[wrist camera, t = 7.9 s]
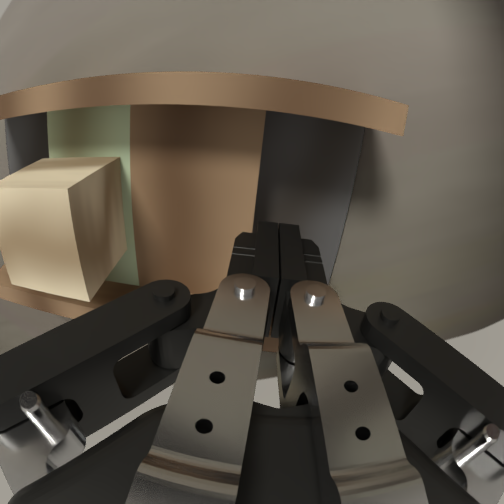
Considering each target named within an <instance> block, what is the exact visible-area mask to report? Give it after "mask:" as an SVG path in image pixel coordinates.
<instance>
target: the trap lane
mask: <svg viewBox="0 0 504 504" xmlns="http://www.w3.org/2000/svg"><path fill="white" fill-rule="evenodd" d="M408 107H409V105H405V104H402V103H399V102H395V101H392V100H388V99H384V98H381V97H377V96H373V95H369V94H365V93H361V92H356V91H352V90H348V89H343V88H338V87H333V86H328V85H323V84H317V83H311V82H305V81H299V80H292V79H285V78H277V77H269V76H259V75H249V74H236V73H219V72H145V73H128V74H116V75H106V76H97V77H89V78H81V79H75V80H68V81H62V82H56V83H51V84H46V85H41V86H36V87H32V88H27V89H23V90H19V91H15V92H11V93H7V94H3V95H0V120H1V119H5V131H6V145H7V156H8V165H9V173H10V175H11V174H13V173H15V172H17V171H19V170H20V169H22V168H24V167H26V166H28V165H30V164H32V163H34V162H36V161H39V160H41V159H44V158H68V157H120V167H121V186H122V200H123V212H124V223H125V233H126V242H127V251H126V252H125V253H124V255H123V256H122V257H121V259H120V260H119V261H118V263H117V264H116V265H115V267H114V268H113V270H112V271H111V272H110V274H109V275H108V277H107V278H106V279H105V281H104V282H103V284H102V285H101V286H100V288H99V289H98V291H97V292H96V294H95V295H94V297H93V298H92V300H91V301H90V302H87V301H82V300H78V299H73V298H68V297H63V296H59V295H54V294H50V293H46V292H41V291H37V290H33V289H29V288H25V287H21V286H17V285H13V284H12V283H11V280H10V278H9V275H8V272H7V269H6V266H5V264H4V265H3V266H2V267H1V268H0V298H2V299H5V300H8V301H11V302H15V303H18V304H21V305H24V306H28V307H31V308H35V309H38V310H42V311H45V312H49V313H53V314H56V315H60V316H64V317H68V318H72V319H75V318H77V317H79V316H81V315H83V314H85V313H87V312H89V311H91V310H94V309H96V308H98V307H100V306H102V305H104V304H106V303H108V302H110V301H112V300H115V299H117V298H119V297H121V296H123V295H125V294H127V293H129V292H132V291H134V290H136V289H138V288H140V287H142V286H144V285H146V284H149V283H151V282H153V281H157V280H165V279H168V280H175V281H178V282H181V283H183V284H184V285H185V286H187V287H188V289H189V291H190V294H200V293H207V292H211V291H214V290H216V289H218V287H219V284H220V282H221V281H222V280H223V279H224V278H225V277H227V272H228V268H229V263H230V259H231V254H232V250H233V246H234V241H235V238H236V237H237V236H238V235H239V234H240V233H242V232H249V233H257V227H258V220H259V221H268V222H277V223H278V225H279V223H286V224H294V225H299V229H300V235H301V238H303V239H311V240H312V241H313V242H314V243H315V244H316V245H317V246H318V247H319V250H320V254H321V259H322V264H323V267H324V271H325V276H326V280H327V284H329V281H330V277H331V273H332V270H333V266H334V263H335V259H336V255H337V252H338V248H339V244H340V240H341V236H342V232H343V228H344V224H345V220H346V216H347V212H348V208H349V203H350V199H351V195H352V190H353V186H354V181H355V177H356V172H357V167H358V162H359V157H360V152H361V147H362V142H363V137H364V131H365V127H367V128H372V129H376V130H380V131H384V132H388V133H392V134H396V135H400V136H403V134H404V129H405V123H406V118H407V112H408ZM278 346H279V338H271V327H270V332H269V337H265V338H264V344H263V349H262V351H268V352H277V350H278Z"/></svg>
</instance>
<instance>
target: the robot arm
mask: <svg viewBox="0 0 504 504" xmlns="http://www.w3.org/2000/svg"><path fill="white" fill-rule="evenodd" d="M270 327H271V338H279V346H278V350H277V354H276V364H277V376H278V387H279V397H280V398H279V399H280V409H278V408H274V407H270V406H267V405H263V404H260V403H257V402H254V401H253V400H254V393H255V387H256V381H257V375H258V369H259V363H260V356H261V351H262V349H263V344H264V338H265V337H269V332H270ZM147 343H148V345H146V346H144V345H145V344H147ZM142 346H144V347H143V348H141V349H139V350H137V349H138V348H140V347H142ZM135 350H137V351H136V352H134V353H132V354H130V353H131V352H133V351H135ZM128 354H130V355H128ZM126 355H128V356H127V357H125V358H123V359H121V358H122V357H124V356H126ZM120 359H121V360H120ZM118 360H120V361H118ZM117 361H118V362H117ZM392 361H393V362H394V363H395V364H397V365H398V366H399V367H401V369H403V370H404V371H405V372H406V373H408V374H409V375H410V376H411V377H412V378H414V379H415V380H416V381H417V382H418V383H420V385H421V386H422V388H423V391H424V394H423V395H419V394H417V393H415V392H414V391H413V390H412V389H410V388H409V387H408V386H407V385H406V384H404V383H403V382H402V381H401V380H399V379H398V378H397V377H396V376H395V375H394V374H392V373H391V372H390V371H389V370H388V367H389V366H390V364H391V362H392ZM173 383H175V384H174V387H173V389H172V392H171V395H170V398H169V400H168V403H167V404H166V405H162V406H159V407H156V408H154V409H151V410H149V411H147V412H145V413H144V414H142V415H140V416H139V417H137V418H136V419H134V420H133V421H132V422H130V423H128V424H127V425H125V426H124V427H122V428H121V429H119V430H118V431H116V432H115V433H113V434H112V435H110V436H109V437H107V438H106V439H104V440H102V441H101V442H99V443H98V444H96V445H95V446H93V447H91V448H90V449H88V450H87V451H85V452H84V453H83V451H84V449H85V445H86V437H87V436H89V435H91V434H92V433H94V432H96V431H97V430H99V429H101V428H103V427H104V426H106V425H108V424H109V423H111V422H113V421H114V420H116V419H118V418H119V417H121V416H123V415H124V414H126V413H128V412H129V411H131V410H133V409H134V408H136V407H137V406H139V405H140V404H142V403H144V402H145V401H147V400H148V399H150V398H151V397H153V396H155V395H156V394H158V393H159V392H161V391H162V390H164V389H166V388H167V387H169V386H170V385H172V384H173ZM0 466H1V469H2V471H3V473H4V475H5V478H6V480H7V482H8V484H9V486H10V488H11V490H12V492H13V494H14V496H13V497H12V498H11V499H10V501H9V502H8V504H497V503H498V502H499V500H500V498H501V496H502V494H503V492H504V387H503V386H502V385H500V384H499V383H498V382H497V381H495V380H494V379H493V378H492V377H490V376H489V375H488V374H487V373H485V372H484V371H483V370H482V369H480V368H479V367H478V366H477V365H475V364H474V363H473V362H471V361H470V360H469V359H468V358H466V357H465V356H464V355H462V354H461V353H460V352H458V351H457V350H456V349H454V348H453V347H452V346H451V345H449V344H448V343H447V342H445V341H444V340H443V339H441V338H440V337H439V336H437V335H436V334H435V333H433V332H432V331H431V330H429V329H428V328H427V327H425V326H424V325H423V324H421V323H420V322H419V321H417V320H416V319H414V318H413V317H412V316H410V315H409V314H408V313H406V312H405V311H404V310H402V309H401V308H399V307H397V306H395V305H393V304H390V303H386V302H376V303H373V304H371V305H370V306H369V307H368V308H367V310H366V313H365V312H362V311H359V310H355V309H352V308H349V307H347V306H345V305H343V304H341V302H340V299H339V296H338V294H337V293H336V291H335V290H334V289H333V288H331V287H330V286H328V284H327V280H326V276H325V271H324V267H323V264H322V259H321V254H320V250H319V247H318V246H317V245H316V244H315V243H314V242H313V241H312V240H311V239H303V238H301V235H300V229H299V225H294V224H286V223H279V225H278V223H277V222H268V221H259V220H258V227H257V233H249V232H242V233H240V234H239V235H238V236H237V237H236V238H235V241H234V246H233V250H232V254H231V259H230V263H229V268H228V272H227V277H225V278H224V279H223V280H222V281H221V282H220V284H219V287H218V289H216V290H214V291H211V292H207V293H200V294H190V291H189V289H188V287H187V286H185V285H184V284H183V283H181V282H178V281H175V280H168V279H165V280H157V281H153V282H151V283H149V284H146V285H144V286H142V287H140V288H138V289H136V290H134V291H132V292H129V293H127V294H125V295H123V296H121V297H119V298H117V299H115V300H112V301H110V302H108V303H106V304H104V305H102V306H100V307H98V308H96V309H94V310H91V311H89V312H87V313H85V314H83V315H81V316H79V317H77V318H75V319H73V320H71V321H69V322H66V323H64V324H62V325H60V326H58V327H56V328H54V329H52V330H50V331H48V332H46V333H44V334H42V335H40V336H38V337H36V338H34V339H32V340H30V341H27V342H25V343H23V344H21V345H19V346H17V347H15V348H13V349H11V350H9V351H7V352H5V353H3V354H1V355H0Z"/></svg>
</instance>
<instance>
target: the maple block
mask: <svg viewBox="0 0 504 504" xmlns="http://www.w3.org/2000/svg"><path fill="white" fill-rule="evenodd" d="M0 250H1V253H2V256H3V260H4V263H5V266H6V269H7V272H8V275H9V278H10V280H11V283H12V284H13V285H17V286H21V287H25V288H29V289H33V290H37V291H41V292H46V293H50V294H54V295H59V296H63V297H68V298H73V299H78V300H82V301H87V302H90V301H91V300H92V298H93V297H94V295H95V294H96V292H97V291H98V289H99V288H100V286H101V285H102V284H103V282H104V281H105V279H106V278H107V277H108V275H109V274H110V272H111V271H112V270H113V268H114V267H115V265H116V264H117V263H118V261H119V260H120V259H121V257H122V256H123V255H124V253H125V252H126V251H127V242H126V233H125V223H124V212H123V200H122V186H121V167H120V157H68V158H44V159H41V160H39V161H36V162H34V163H32V164H30V165H28V166H26V167H24V168H22V169H20V170H19V171H17V172H15V173H13V174H11V175H9V176H7V177H5V178H4V179H2V180H0Z"/></svg>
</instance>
